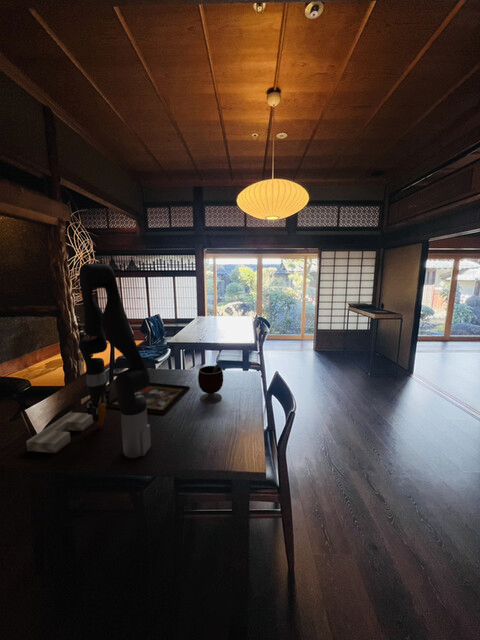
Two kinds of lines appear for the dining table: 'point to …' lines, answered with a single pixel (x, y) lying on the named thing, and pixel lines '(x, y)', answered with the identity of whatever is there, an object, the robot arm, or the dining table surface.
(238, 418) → the dining table surface
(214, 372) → the mate gourd
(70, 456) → the dining table surface
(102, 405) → the carrot
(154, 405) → the framed painting
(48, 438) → the notched board
